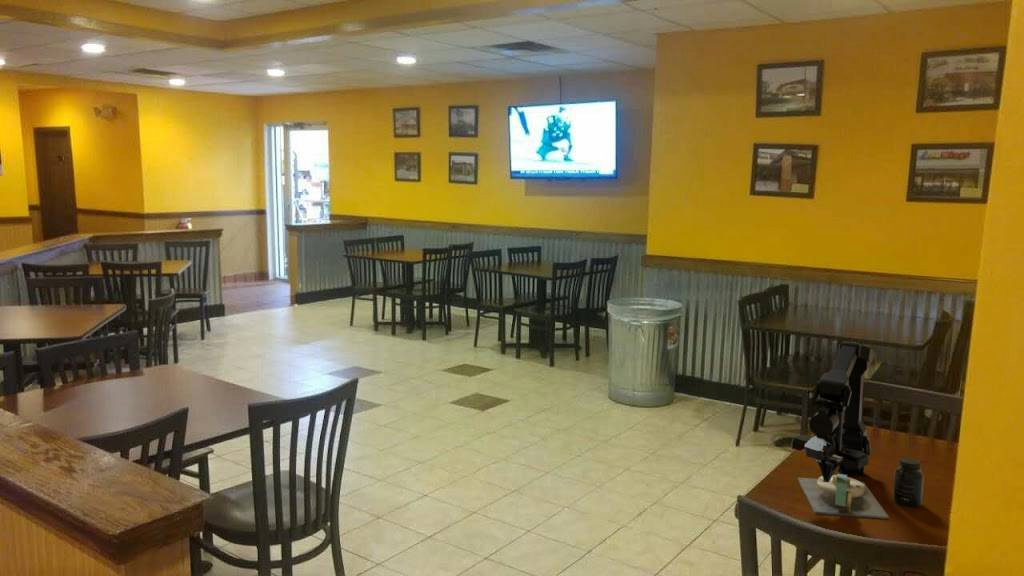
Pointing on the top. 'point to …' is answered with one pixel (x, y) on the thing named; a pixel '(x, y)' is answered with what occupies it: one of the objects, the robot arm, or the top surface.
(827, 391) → the robot arm
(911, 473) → the supplement bottle
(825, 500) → the base
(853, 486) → the flange
